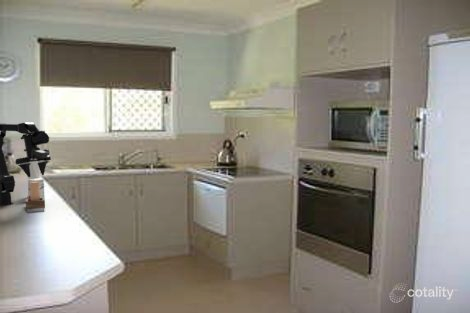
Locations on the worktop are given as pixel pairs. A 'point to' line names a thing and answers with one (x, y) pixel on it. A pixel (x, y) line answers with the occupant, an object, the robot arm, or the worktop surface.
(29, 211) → the mat
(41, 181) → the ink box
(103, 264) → the worktop surface
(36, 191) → the peg
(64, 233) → the worktop surface
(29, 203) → the socket block
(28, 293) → the worktop surface
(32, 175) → the skyscraper
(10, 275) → the worktop surface
